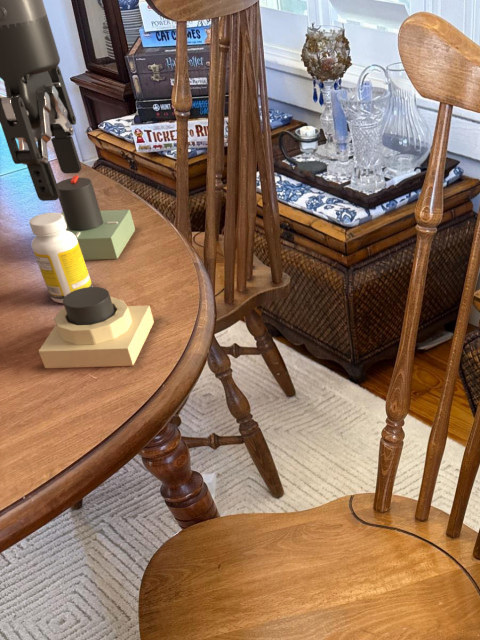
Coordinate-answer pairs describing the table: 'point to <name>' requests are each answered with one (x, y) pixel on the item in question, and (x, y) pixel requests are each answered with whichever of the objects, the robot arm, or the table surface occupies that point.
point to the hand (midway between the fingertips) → (61, 185)
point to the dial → (79, 203)
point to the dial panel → (106, 235)
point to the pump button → (88, 306)
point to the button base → (98, 339)
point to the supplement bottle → (58, 256)
